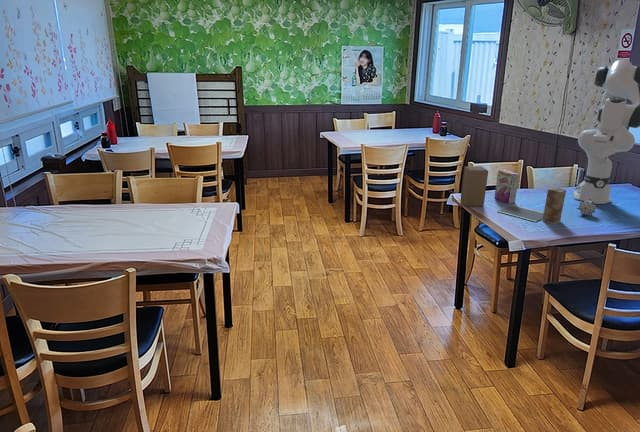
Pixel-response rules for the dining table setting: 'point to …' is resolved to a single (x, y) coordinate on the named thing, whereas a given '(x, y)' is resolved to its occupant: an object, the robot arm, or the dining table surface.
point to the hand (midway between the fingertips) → (601, 165)
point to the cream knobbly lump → (587, 207)
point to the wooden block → (474, 185)
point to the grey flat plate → (522, 213)
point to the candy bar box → (506, 186)
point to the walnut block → (554, 205)
